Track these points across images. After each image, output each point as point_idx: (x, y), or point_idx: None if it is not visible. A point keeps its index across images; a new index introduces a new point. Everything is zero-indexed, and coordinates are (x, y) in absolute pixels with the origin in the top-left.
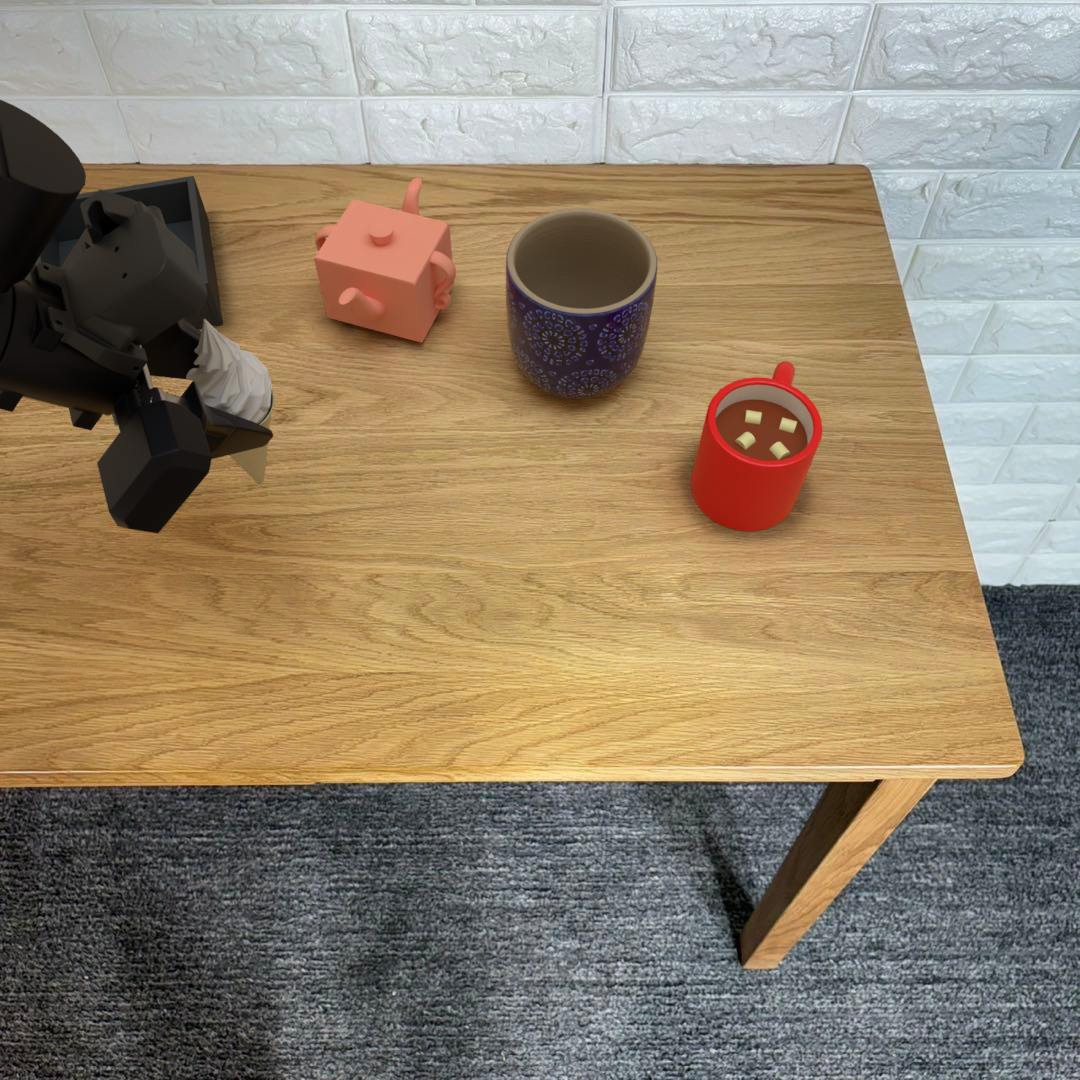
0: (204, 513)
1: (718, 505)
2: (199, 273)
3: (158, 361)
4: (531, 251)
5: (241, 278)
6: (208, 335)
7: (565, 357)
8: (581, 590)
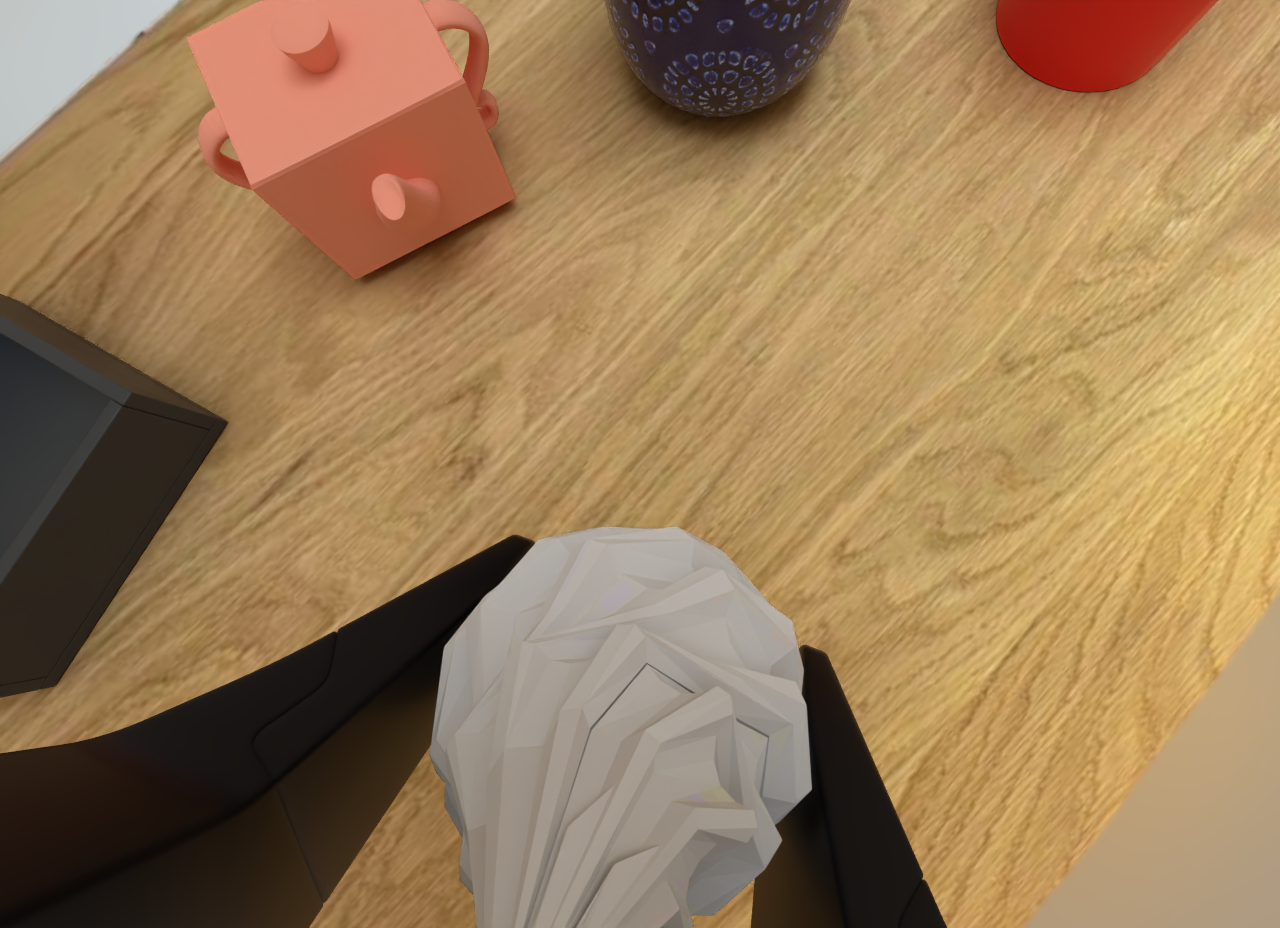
0: None
1: (1142, 51)
2: (98, 390)
3: (296, 894)
4: None
5: (171, 338)
6: None
7: None
8: (1080, 318)
